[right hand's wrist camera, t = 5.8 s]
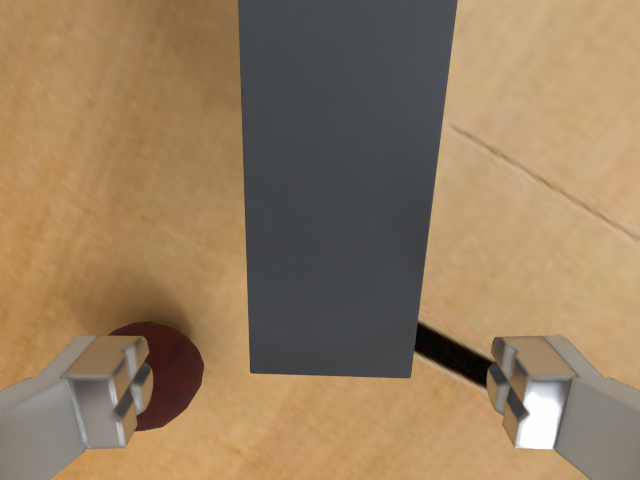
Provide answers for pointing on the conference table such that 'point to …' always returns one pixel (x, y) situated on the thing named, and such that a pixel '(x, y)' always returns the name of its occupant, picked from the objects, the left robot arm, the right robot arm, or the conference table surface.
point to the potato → (167, 372)
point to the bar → (339, 178)
